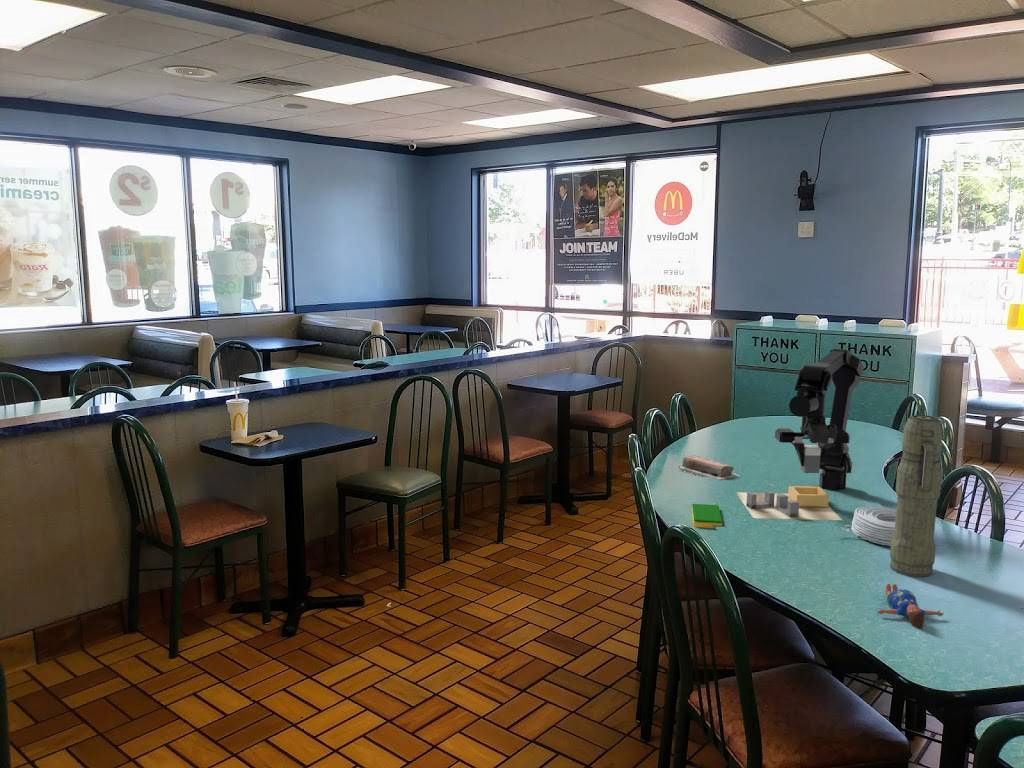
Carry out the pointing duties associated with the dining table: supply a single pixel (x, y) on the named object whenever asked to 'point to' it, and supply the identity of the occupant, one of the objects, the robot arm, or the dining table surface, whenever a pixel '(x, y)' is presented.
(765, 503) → the clip
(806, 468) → the connector plug
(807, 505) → the end holder
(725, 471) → the packaged product
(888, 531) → the cable
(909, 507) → the thermos
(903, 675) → the dining table surface
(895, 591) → the toy character
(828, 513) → the board
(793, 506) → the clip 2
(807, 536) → the dining table surface
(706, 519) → the dish sponge
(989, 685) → the dining table surface
